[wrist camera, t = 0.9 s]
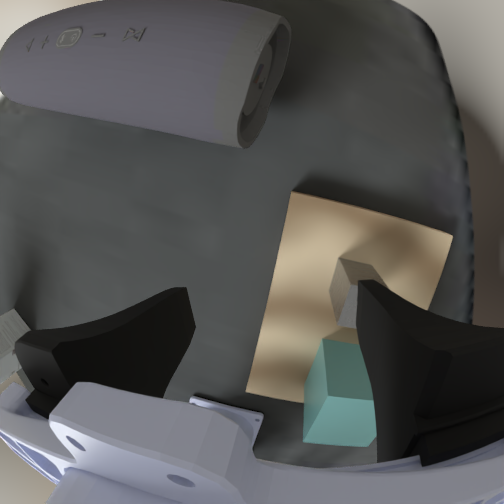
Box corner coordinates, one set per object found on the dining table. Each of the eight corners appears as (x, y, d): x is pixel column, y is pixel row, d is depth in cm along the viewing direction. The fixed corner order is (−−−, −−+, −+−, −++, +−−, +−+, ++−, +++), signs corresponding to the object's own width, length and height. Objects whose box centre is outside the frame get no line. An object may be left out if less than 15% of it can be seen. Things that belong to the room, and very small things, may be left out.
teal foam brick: (357, 392, 22) (367, 446, 16) (304, 384, 23) (302, 441, 17) (380, 347, 21) (400, 402, 15) (322, 338, 21) (327, 395, 15)
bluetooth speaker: (296, 52, 17) (292, -25, 8) (254, 161, 20) (218, 151, 10) (80, 31, 18) (16, 5, 9) (50, 110, 21) (-23, 104, 11)
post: (361, 297, 20) (376, 332, 15) (328, 290, 20) (336, 325, 15) (371, 264, 19) (392, 293, 14) (338, 257, 19) (350, 284, 15)
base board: (371, 400, 24) (373, 410, 23) (248, 381, 25) (245, 391, 24) (444, 231, 19) (453, 235, 17) (291, 190, 20) (291, 191, 19)
